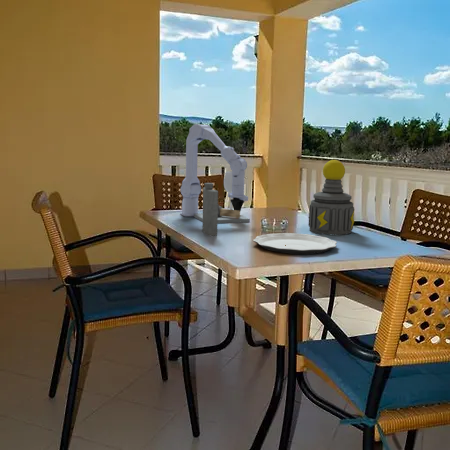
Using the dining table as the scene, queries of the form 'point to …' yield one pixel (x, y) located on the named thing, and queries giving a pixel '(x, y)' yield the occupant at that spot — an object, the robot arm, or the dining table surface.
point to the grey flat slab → (224, 219)
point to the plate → (295, 243)
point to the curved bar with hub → (228, 212)
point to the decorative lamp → (332, 204)
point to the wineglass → (228, 184)
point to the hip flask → (210, 210)
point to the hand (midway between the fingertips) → (237, 214)
